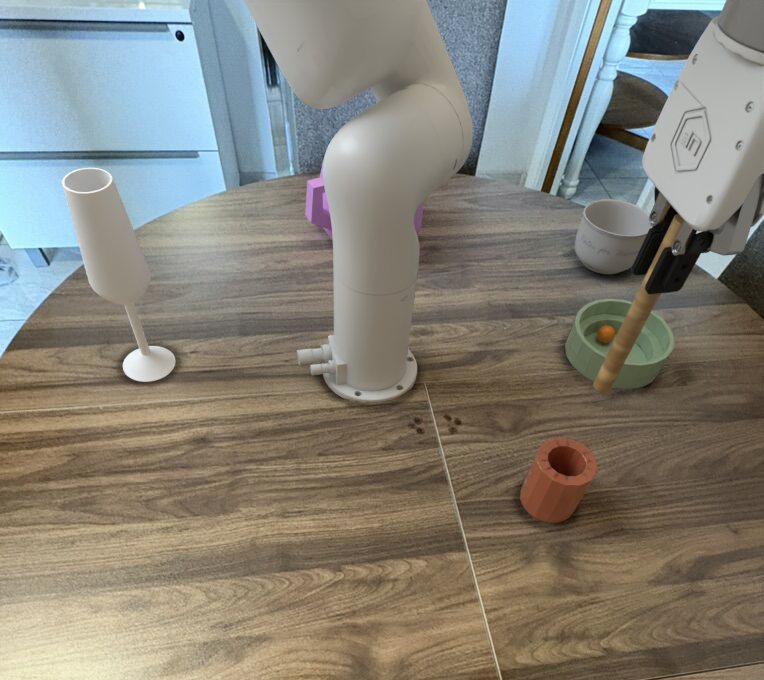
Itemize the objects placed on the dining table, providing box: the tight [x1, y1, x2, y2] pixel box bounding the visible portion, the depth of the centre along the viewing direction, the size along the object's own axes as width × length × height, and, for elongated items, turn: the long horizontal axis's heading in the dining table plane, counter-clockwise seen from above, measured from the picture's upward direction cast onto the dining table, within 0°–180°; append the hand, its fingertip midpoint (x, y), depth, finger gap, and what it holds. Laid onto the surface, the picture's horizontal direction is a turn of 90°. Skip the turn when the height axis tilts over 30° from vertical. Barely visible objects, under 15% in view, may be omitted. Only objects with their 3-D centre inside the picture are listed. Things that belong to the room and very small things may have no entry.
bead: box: [597, 325, 615, 343], centre depth 86 cm, size 2×2×2 cm
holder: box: [519, 437, 598, 524], centre depth 68 cm, size 6×6×8 cm
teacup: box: [574, 198, 653, 275], centre depth 95 cm, size 14×11×8 cm
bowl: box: [564, 297, 676, 390], centre depth 84 cm, size 13×13×5 cm
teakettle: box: [304, 159, 424, 242], centre depth 95 cm, size 17×17×12 cm
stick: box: [592, 214, 684, 394], centre depth 55 cm, size 2×2×18 cm
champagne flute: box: [61, 167, 176, 383], centre depth 70 cm, size 7×7×24 cm
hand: (655, 280), depth 52 cm, fingers closed on stick, 1 cm apart
